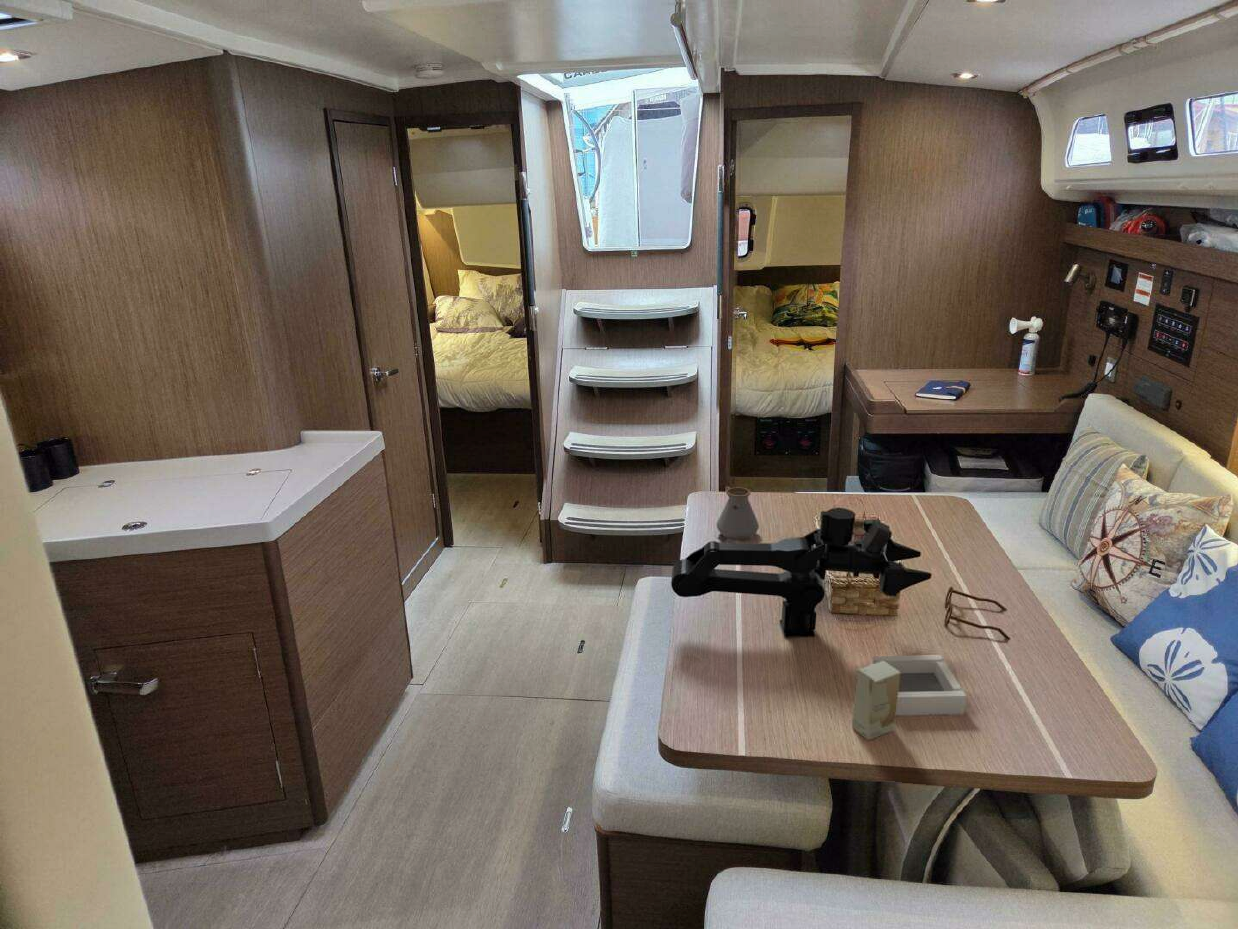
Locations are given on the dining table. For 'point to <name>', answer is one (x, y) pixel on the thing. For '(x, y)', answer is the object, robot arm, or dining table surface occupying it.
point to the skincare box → (876, 699)
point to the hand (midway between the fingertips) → (925, 564)
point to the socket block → (925, 686)
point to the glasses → (965, 620)
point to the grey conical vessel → (737, 516)
